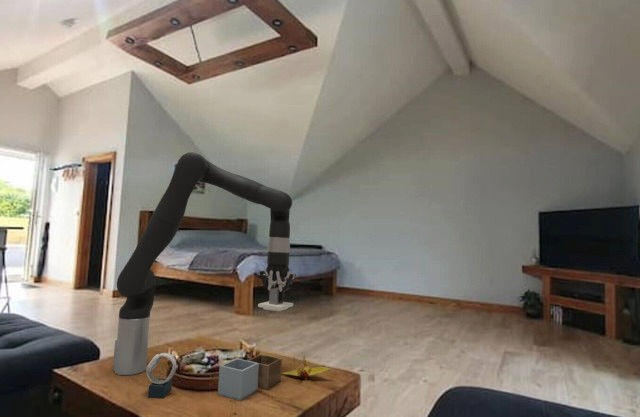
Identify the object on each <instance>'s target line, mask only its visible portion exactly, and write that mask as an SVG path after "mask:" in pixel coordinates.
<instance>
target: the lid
mask: <svg viewBox="0 0 640 417" xmlns="http://www.w3.org/2000/svg"><path fill="white" fill-rule="evenodd" d="M279 292H280V291H279V287H275V288H271V289H270V295H269V299H268V301H264V302H261V303H258V304H257V307H258V308H262V310H267V311H274V312H282V311H285V310H288V309H289V308H291V307H294V302H287V301H286V302H285V301H283V302H282V303H279V302H278V295H279Z"/></svg>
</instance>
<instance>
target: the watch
mask: <svg viewBox="0 0 640 417" xmlns="http://www.w3.org/2000/svg"><path fill="white" fill-rule="evenodd" d="M162 357H164V358H167V359H168V360H169V361H170V362H171V364H172V367H171V370H170V372H169V375H168V376H167V377H166V378H156V376H155V375H154V374H153V371H154V369H155V368H156V367H157V366H158V364H159V363H160V362H161V360H162ZM177 364H178V363H177V360H176V358H175V357H174V356H173V355H172V354H170V353H169V352H161V353H160V354H159V353H157V354H155V355H154V357H152V358H151V360H150V361H149V363H147V365H146V370H145V371H146V376H147V378H148V379H149V381H150V382H151V383H150V384H149V385H148V392H147V398H149V399H150V398H151V399H165V398H166V397H167V396H168V395H169V394H170V393H169V392H171V391H172V390H173V389H172V388H173V376H174V375H175V373H176V371H177V369H178V368H177ZM168 393H169V394H168Z"/></svg>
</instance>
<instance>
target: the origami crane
mask: <svg viewBox="0 0 640 417" xmlns="http://www.w3.org/2000/svg"><path fill="white" fill-rule="evenodd" d="M302 360H303V365H304V368H302V367H301V365H300V366H298V367H297V368H296V369H293V370H289V371H288V370H287V371H284V372H281V375H285V376H286V375H287V376H288V375H289V376H295V377H300V378H301V377H302V378H303V379H302V380H303V381H304V380H305V381H307V380H308V378H309V377H311V376H314V375H315V376H316V375H317V374H321V373H324V372H330V371H332V370H333V369H332V368H328V367H324V366H317V367H316V366H315V367H313V368H310V367H309V364H308V362H307V360H306V356H305V354H302Z"/></svg>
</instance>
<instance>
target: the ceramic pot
mask: <svg viewBox="0 0 640 417" xmlns="http://www.w3.org/2000/svg"><path fill="white" fill-rule="evenodd" d="M247 360H248V359H247ZM247 360H246V359H242V358H235V359H232V360H230V361H228V362H224V363H223V364H221V365H219V370H218V371H219V372H218V386H217V396H218V395H219V396H220V397H221V396H222V397H225V398H229V399H233V400H237V401H239V402H240V401H241V402H242V401H243V400H244V399H246V398H248V397H249V396H251V395H253V394H254V393H257V392H258V389H259V388H258V370H259V363H256V362H252V361H247Z"/></svg>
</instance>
